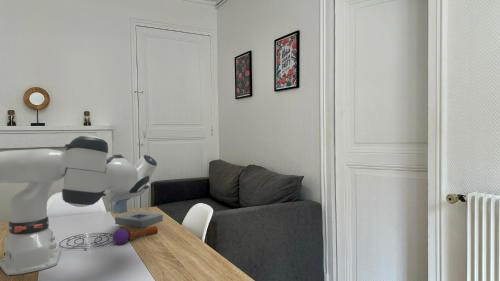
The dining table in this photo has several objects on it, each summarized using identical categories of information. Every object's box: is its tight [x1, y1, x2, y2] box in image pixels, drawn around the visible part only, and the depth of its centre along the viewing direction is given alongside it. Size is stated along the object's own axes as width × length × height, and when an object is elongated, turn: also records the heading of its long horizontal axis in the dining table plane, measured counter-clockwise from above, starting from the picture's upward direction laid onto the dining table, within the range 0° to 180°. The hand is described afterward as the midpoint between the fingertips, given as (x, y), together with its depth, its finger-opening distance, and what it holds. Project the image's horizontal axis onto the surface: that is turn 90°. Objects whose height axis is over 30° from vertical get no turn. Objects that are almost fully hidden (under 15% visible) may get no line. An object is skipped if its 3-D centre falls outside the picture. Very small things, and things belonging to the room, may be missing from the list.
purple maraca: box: [112, 225, 159, 245], centre depth 145 cm, size 6×6×20 cm
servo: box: [112, 199, 129, 215], centre depth 162 cm, size 7×4×9 cm, turn 61°
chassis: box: [114, 210, 164, 228], centre depth 172 cm, size 18×14×3 cm
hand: (119, 202), depth 162 cm, fingers closed on servo, 4 cm apart
